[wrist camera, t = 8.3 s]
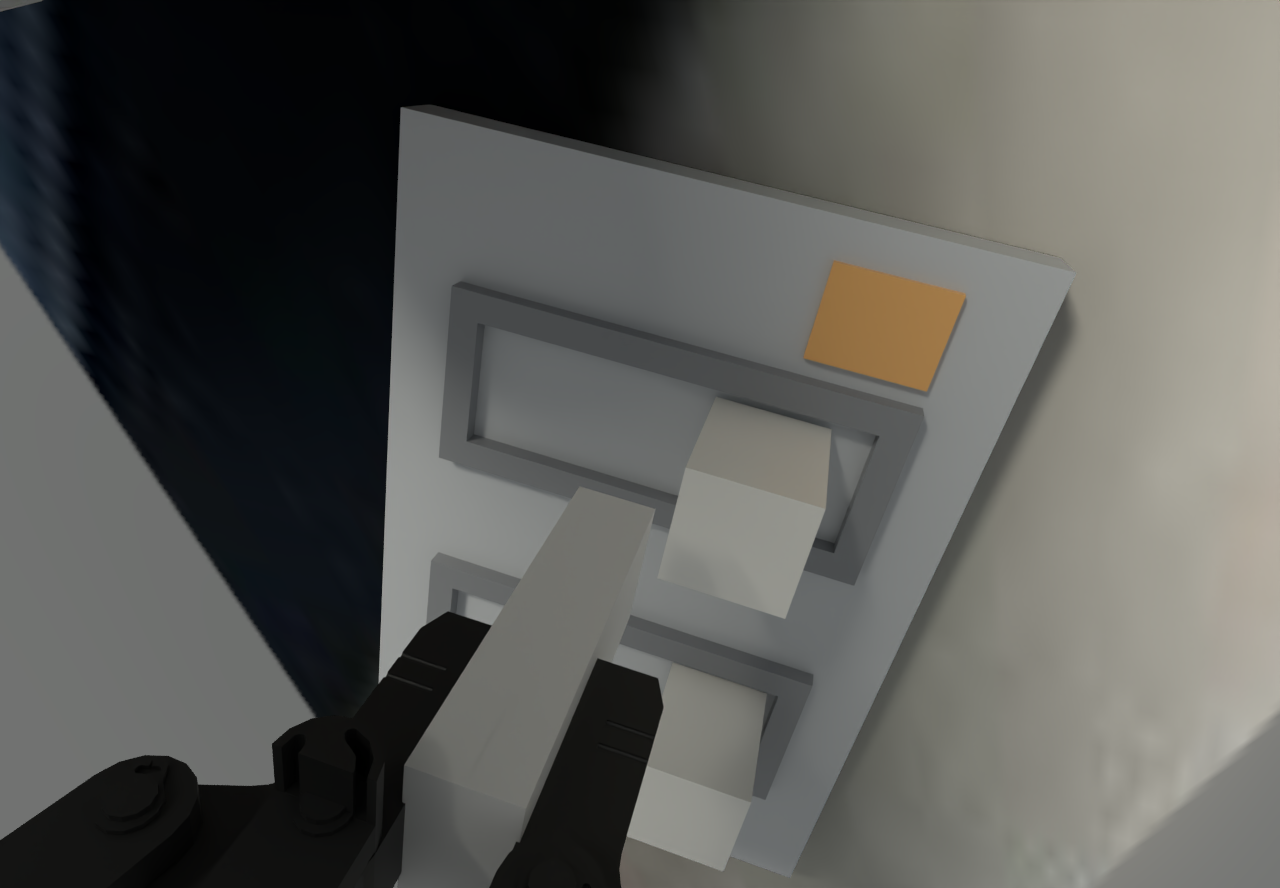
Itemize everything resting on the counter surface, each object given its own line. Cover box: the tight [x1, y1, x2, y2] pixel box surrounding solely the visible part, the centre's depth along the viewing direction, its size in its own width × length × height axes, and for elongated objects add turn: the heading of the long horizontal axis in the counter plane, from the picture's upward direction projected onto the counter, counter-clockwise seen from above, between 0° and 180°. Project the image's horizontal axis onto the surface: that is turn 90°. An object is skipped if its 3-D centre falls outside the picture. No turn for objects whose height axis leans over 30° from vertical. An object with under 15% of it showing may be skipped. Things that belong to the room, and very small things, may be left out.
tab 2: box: [627, 662, 767, 871], centre depth 23 cm, size 3×3×4 cm
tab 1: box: [657, 397, 832, 619], centre depth 18 cm, size 3×3×4 cm
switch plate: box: [379, 105, 1076, 878], centre depth 23 cm, size 16×22×2 cm
